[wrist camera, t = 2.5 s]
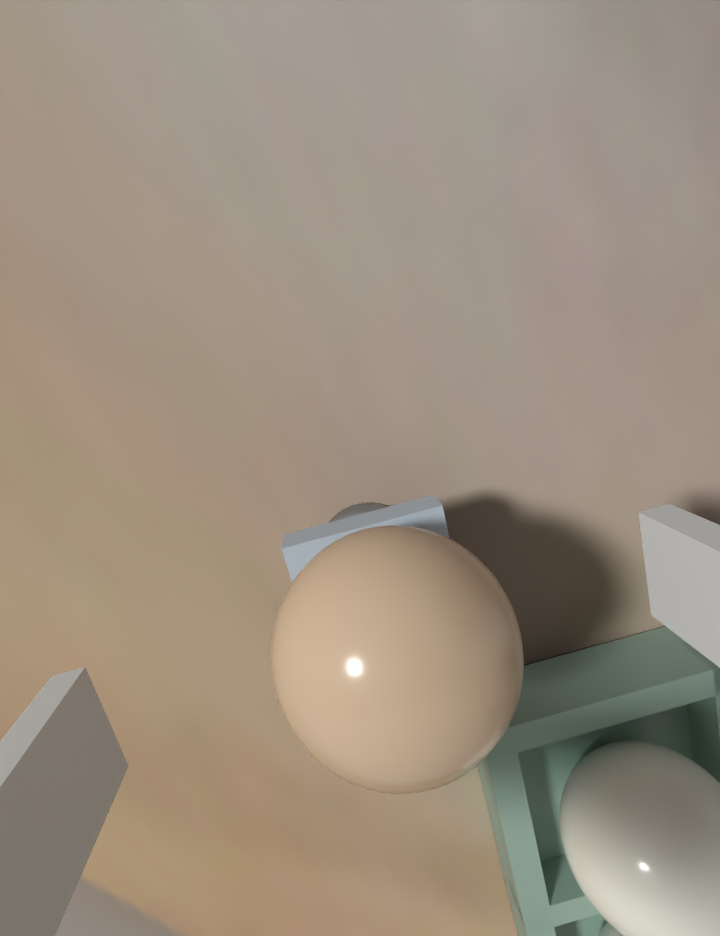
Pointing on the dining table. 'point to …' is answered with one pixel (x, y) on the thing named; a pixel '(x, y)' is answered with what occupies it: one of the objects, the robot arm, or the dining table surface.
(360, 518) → the egg cup
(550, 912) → the carton
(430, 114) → the dining table surface
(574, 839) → the cream egg
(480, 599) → the brown egg
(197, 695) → the dining table surface
